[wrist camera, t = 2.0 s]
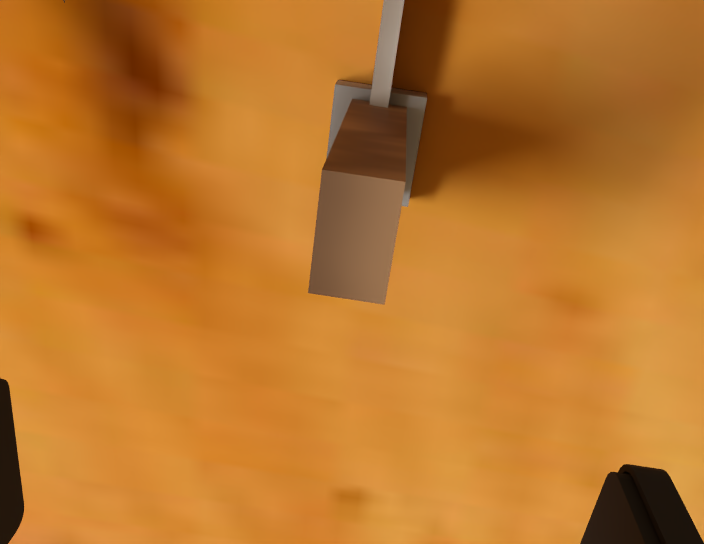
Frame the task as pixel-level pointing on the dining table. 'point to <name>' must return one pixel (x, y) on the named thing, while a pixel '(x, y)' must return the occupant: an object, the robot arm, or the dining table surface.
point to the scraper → (366, 176)
